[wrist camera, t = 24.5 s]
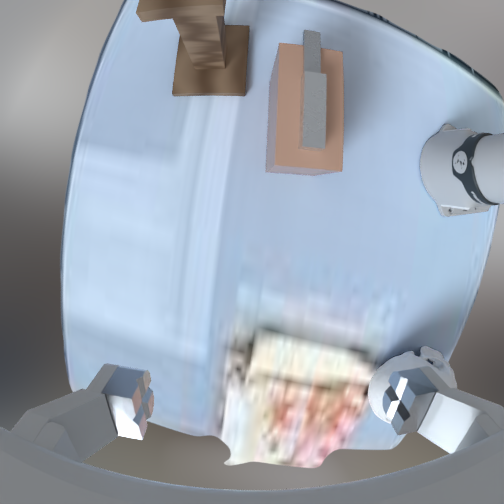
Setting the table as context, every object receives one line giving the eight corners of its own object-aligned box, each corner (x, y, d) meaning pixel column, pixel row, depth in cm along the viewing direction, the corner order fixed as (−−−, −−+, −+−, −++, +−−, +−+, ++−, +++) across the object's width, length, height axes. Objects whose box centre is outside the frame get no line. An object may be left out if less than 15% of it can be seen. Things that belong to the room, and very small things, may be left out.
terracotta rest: (316, 86, 44) (342, 51, 29) (313, 175, 47) (342, 171, 33) (269, 81, 44) (279, 42, 29) (265, 172, 47) (274, 165, 32)
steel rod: (320, 35, 29) (325, 26, 26) (319, 151, 32) (325, 148, 30) (301, 32, 29) (304, 23, 26) (298, 149, 32) (302, 146, 30)
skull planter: (443, 383, 56) (448, 435, 39) (370, 377, 65) (358, 428, 48) (457, 336, 53) (472, 383, 37) (379, 330, 62) (371, 376, 45)
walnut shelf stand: (249, 29, 41) (253, -83, 13) (244, 96, 44) (245, -3, 16) (182, 30, 41) (139, -72, 13) (174, 96, 44) (104, 12, 16)
